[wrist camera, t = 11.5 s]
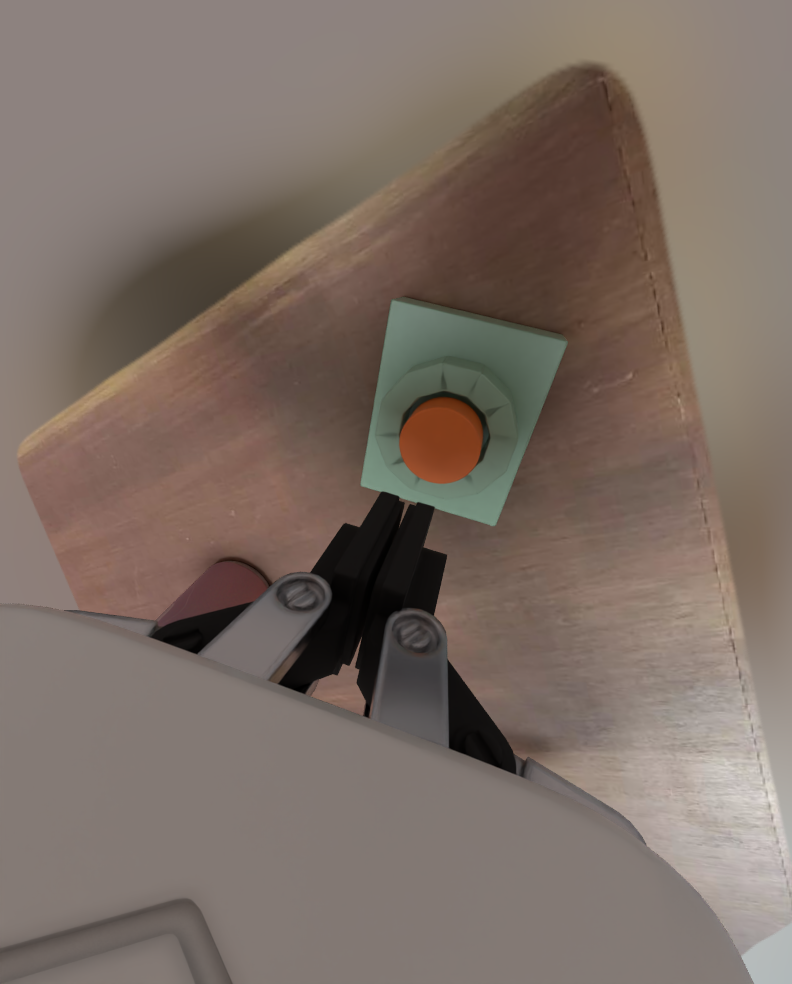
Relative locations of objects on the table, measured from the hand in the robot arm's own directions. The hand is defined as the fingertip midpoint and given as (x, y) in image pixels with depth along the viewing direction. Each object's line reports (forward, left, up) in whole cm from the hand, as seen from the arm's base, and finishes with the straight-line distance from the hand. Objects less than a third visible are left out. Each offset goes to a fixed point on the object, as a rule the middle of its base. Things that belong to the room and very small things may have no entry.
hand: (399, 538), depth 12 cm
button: (-1, 0, -8) cm, 8 cm away
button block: (-1, 0, -12) cm, 12 cm away
